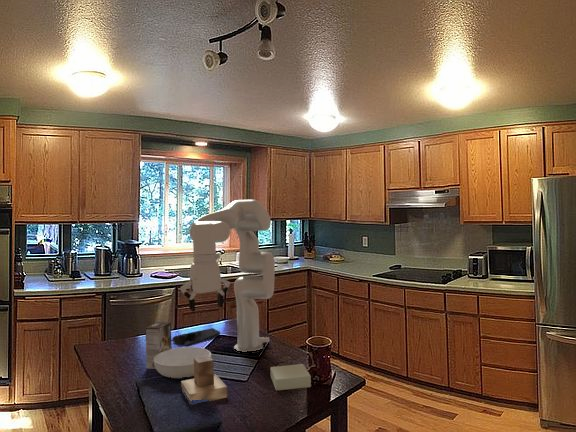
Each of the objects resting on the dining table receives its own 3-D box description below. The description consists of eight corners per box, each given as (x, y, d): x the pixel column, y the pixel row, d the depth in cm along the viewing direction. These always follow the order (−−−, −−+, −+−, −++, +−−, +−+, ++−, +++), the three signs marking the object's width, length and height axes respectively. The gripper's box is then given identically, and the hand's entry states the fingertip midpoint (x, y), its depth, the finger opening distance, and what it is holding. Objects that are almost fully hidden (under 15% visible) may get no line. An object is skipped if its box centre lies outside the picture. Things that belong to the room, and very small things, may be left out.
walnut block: (208, 379, 140) (208, 355, 140) (213, 384, 136) (213, 359, 136) (194, 382, 138) (193, 358, 138) (199, 387, 134) (198, 362, 134)
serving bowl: (182, 389, 141) (182, 369, 141) (141, 378, 152) (141, 359, 152) (223, 369, 159) (222, 351, 159) (183, 360, 170) (183, 343, 170)
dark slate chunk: (224, 337, 202) (224, 327, 202) (183, 348, 187) (183, 337, 187) (208, 331, 213) (208, 322, 213) (168, 341, 198) (167, 331, 198)
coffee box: (157, 360, 170) (157, 321, 170) (172, 361, 169) (171, 321, 169) (145, 368, 161) (144, 327, 161) (161, 369, 160) (160, 328, 160)
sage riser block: (303, 374, 153) (302, 363, 153) (311, 387, 141) (310, 376, 141) (270, 378, 150) (270, 367, 150) (276, 391, 139) (275, 379, 139)
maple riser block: (216, 385, 145) (215, 374, 145) (227, 398, 134) (226, 386, 134) (181, 392, 140) (181, 381, 140) (190, 407, 129) (189, 394, 129)
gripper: (225, 255, 150) (226, 303, 151) (176, 260, 142) (178, 310, 142) (232, 257, 143) (234, 307, 144) (182, 262, 135) (184, 314, 136)
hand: (206, 308), depth 143 cm, fingers open, 9 cm apart
